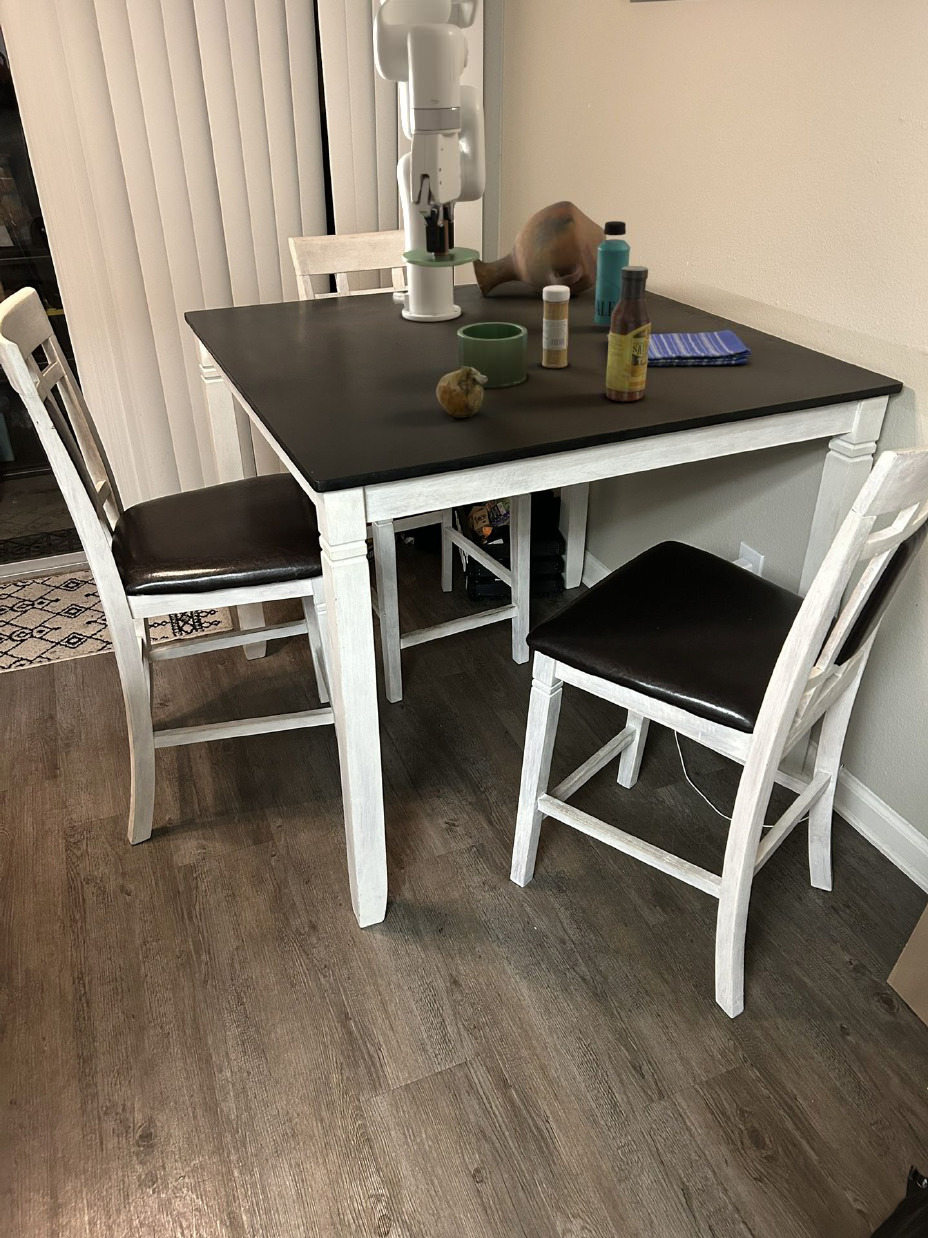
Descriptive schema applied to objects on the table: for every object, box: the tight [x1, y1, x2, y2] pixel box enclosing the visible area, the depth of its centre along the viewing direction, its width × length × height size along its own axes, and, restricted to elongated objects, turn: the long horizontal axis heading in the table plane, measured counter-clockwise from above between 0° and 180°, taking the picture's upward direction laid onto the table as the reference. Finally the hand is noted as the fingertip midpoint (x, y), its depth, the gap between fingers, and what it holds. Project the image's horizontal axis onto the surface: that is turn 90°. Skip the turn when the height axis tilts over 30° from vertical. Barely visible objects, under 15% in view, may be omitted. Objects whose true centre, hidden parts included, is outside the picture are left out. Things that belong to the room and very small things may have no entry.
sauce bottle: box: [605, 265, 652, 403], centre depth 143 cm, size 7×6×20 cm
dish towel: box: [607, 329, 753, 367], centre depth 167 cm, size 17×24×3 cm
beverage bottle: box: [593, 220, 631, 326], centre depth 178 cm, size 6×7×20 cm
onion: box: [435, 366, 488, 419], centre depth 141 cm, size 8×8×8 cm
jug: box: [471, 200, 608, 298], centre depth 205 cm, size 20×20×30 cm
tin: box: [457, 321, 528, 389], centre depth 156 cm, size 12×12×8 cm
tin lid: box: [401, 220, 481, 268], centre depth 148 cm, size 13×13×6 cm
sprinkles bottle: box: [541, 285, 571, 370], centre depth 160 cm, size 5×5×14 cm
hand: (440, 249), depth 148 cm, fingers closed on tin lid, 2 cm apart
